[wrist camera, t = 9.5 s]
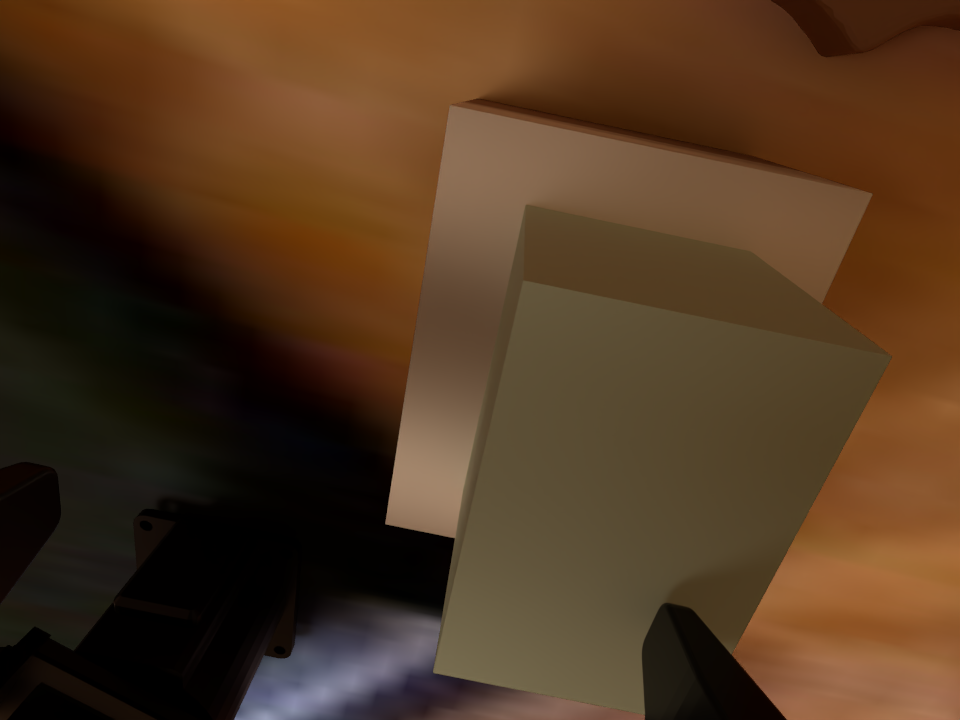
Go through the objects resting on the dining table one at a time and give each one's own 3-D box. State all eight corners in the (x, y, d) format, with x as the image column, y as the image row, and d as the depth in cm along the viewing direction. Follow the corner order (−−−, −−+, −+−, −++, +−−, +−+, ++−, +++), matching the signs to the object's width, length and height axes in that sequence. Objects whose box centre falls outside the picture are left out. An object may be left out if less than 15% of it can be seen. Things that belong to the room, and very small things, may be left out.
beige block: (646, 446, 21) (691, 585, 15) (425, 401, 21) (385, 524, 15) (753, 156, 17) (873, 193, 11) (477, 98, 17) (449, 105, 11)
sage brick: (642, 526, 15) (694, 724, 10) (462, 490, 15) (433, 672, 10) (751, 251, 12) (891, 356, 7) (525, 204, 12) (523, 279, 7)
